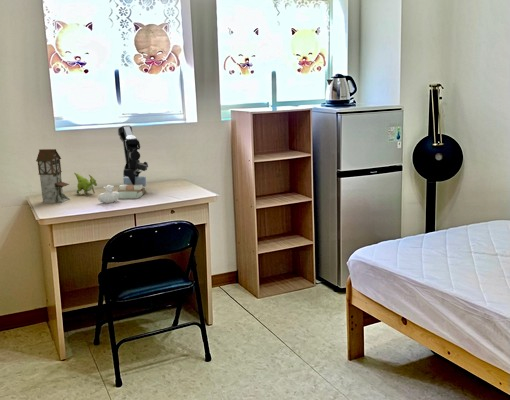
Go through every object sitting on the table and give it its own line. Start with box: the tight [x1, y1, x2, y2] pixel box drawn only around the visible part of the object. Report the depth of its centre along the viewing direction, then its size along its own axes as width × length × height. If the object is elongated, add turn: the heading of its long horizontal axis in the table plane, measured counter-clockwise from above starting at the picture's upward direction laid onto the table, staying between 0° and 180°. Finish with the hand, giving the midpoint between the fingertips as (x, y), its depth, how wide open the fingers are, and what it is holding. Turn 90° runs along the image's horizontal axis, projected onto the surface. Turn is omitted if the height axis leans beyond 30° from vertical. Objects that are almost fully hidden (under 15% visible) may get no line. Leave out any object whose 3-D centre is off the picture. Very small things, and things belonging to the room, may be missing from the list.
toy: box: [73, 172, 98, 196], centre depth 336 cm, size 8×21×15 cm
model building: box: [35, 148, 71, 204], centre depth 316 cm, size 10×15×30 cm
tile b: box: [126, 185, 134, 190], centre depth 331 cm, size 4×4×2 cm
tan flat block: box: [116, 187, 146, 194], centre depth 331 cm, size 8×14×3 cm, turn 81°
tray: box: [118, 191, 143, 200], centre depth 323 cm, size 9×17×4 cm, turn 81°
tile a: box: [118, 184, 127, 190], centre depth 331 cm, size 4×4×2 cm
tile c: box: [134, 184, 144, 190], centre depth 330 cm, size 4×4×2 cm
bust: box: [97, 184, 119, 204], centre depth 309 cm, size 12×8×11 cm
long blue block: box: [122, 175, 147, 187], centre depth 337 cm, size 4×13×6 cm, turn 91°
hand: (135, 184), depth 337 cm, fingers closed on long blue block, 4 cm apart
